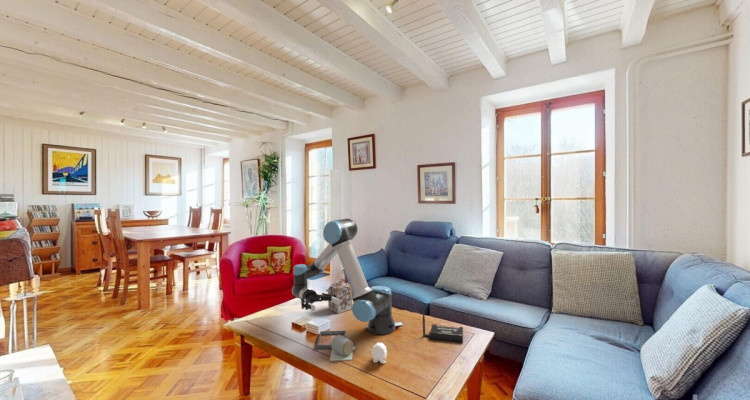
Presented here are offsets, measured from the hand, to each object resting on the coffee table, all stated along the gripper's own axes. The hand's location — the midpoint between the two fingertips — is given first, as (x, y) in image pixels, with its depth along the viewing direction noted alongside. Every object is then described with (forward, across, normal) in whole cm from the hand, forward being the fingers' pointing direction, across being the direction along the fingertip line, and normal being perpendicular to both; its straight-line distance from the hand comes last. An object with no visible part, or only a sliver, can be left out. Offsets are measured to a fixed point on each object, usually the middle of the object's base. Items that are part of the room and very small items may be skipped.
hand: (326, 305), depth 159 cm
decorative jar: (-34, -28, -18) cm, 47 cm away
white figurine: (+30, -10, -20) cm, 37 cm away
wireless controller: (+33, -49, -20) cm, 62 cm away
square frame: (0, -2, -19) cm, 19 cm away
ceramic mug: (+15, 0, -19) cm, 24 cm away
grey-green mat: (+15, +2, -19) cm, 24 cm away
